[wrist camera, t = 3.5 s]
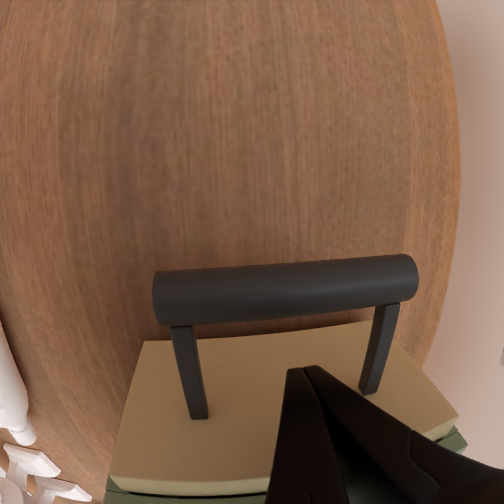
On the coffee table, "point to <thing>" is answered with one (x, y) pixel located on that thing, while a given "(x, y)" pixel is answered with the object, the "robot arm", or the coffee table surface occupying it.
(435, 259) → the coffee table surface
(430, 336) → the coffee table surface
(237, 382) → the drawer
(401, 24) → the coffee table surface
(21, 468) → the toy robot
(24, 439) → the binoculars
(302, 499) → the robot arm
